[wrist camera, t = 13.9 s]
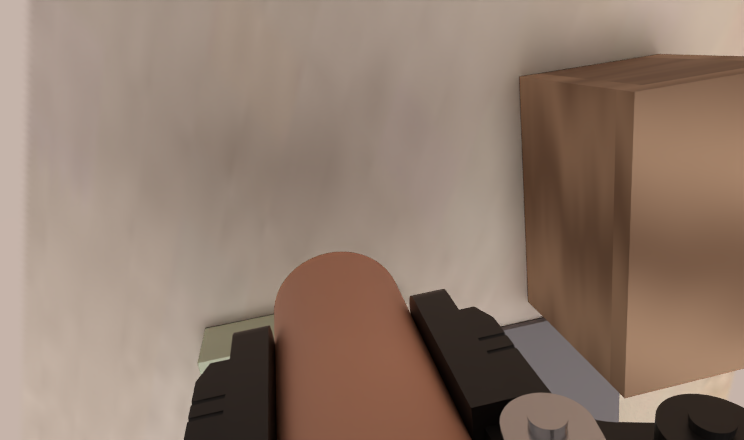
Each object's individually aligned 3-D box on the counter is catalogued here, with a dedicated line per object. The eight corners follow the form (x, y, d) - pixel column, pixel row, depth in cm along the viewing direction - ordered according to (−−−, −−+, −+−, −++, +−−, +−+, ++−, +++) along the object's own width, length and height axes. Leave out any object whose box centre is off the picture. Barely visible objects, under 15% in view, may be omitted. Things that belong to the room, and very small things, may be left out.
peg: (261, 266, 12) (246, 671, 4) (391, 239, 12) (581, 572, 5) (288, 375, 13) (311, 848, 5) (406, 348, 13) (579, 757, 6)
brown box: (519, 76, 21) (634, 91, 14) (658, 54, 21) (829, 58, 15) (528, 301, 24) (624, 398, 17) (648, 275, 25) (783, 358, 18)
